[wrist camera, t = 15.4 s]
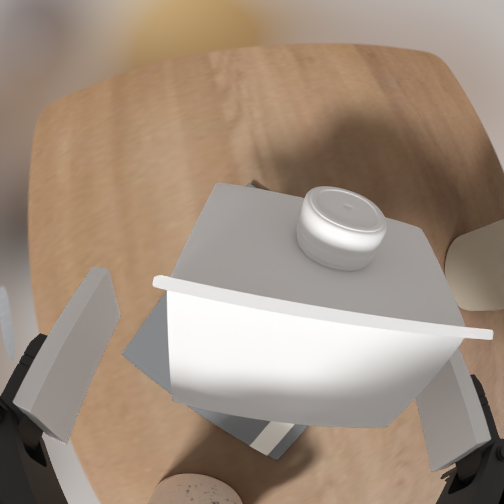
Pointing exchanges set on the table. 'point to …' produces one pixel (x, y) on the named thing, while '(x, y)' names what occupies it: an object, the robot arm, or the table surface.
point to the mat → (245, 429)
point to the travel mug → (477, 268)
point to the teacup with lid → (193, 491)
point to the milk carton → (307, 310)
